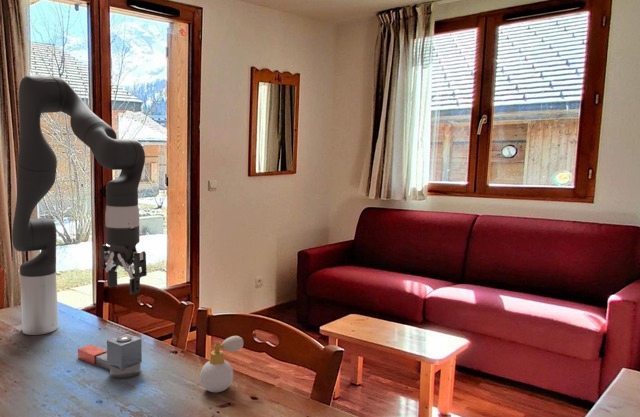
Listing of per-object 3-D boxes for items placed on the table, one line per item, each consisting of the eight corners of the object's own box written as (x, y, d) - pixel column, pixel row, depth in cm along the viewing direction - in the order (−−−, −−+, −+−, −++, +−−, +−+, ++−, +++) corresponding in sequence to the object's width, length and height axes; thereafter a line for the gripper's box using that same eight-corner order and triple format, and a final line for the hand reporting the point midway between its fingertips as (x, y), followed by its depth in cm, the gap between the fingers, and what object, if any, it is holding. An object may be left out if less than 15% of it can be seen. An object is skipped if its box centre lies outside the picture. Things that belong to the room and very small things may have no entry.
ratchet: (72, 360, 131) (71, 339, 130) (96, 351, 136) (96, 331, 136) (122, 382, 120) (121, 359, 119) (146, 371, 125) (146, 350, 125)
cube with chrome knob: (107, 364, 123) (106, 338, 123) (127, 356, 128) (126, 332, 127) (121, 370, 120) (121, 344, 120) (141, 362, 125) (141, 337, 124)
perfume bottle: (193, 390, 116) (193, 340, 115) (224, 375, 124) (224, 328, 123) (216, 400, 112) (216, 348, 111) (246, 384, 120) (247, 335, 119)
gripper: (90, 222, 122) (91, 288, 124) (127, 229, 114) (128, 299, 116) (117, 219, 128) (118, 281, 130) (155, 225, 120) (155, 292, 122)
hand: (123, 290), depth 123 cm, fingers open, 8 cm apart
